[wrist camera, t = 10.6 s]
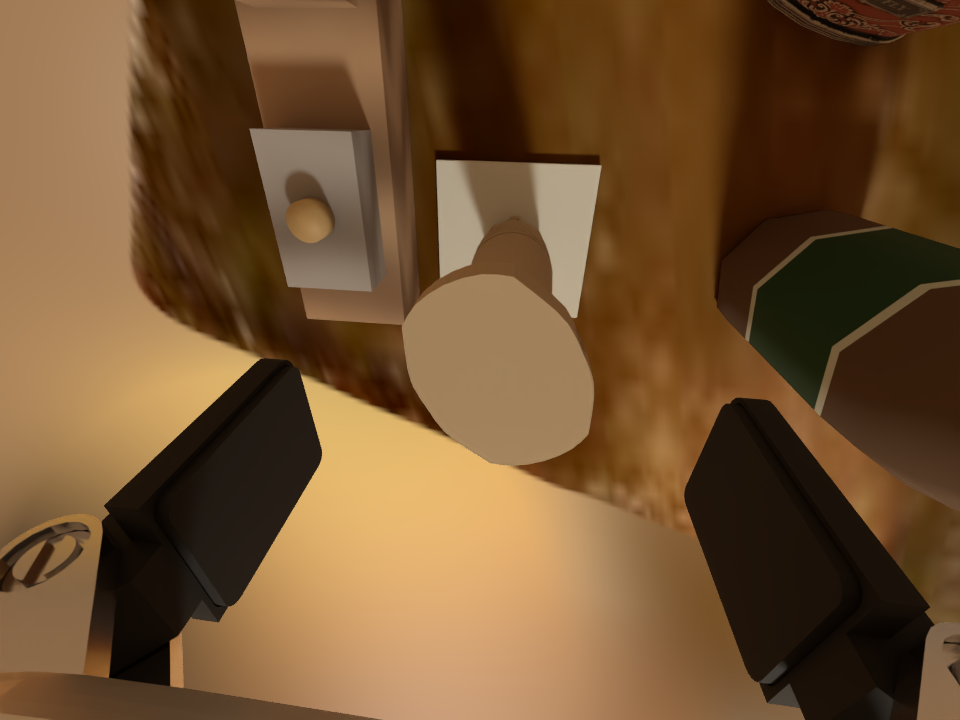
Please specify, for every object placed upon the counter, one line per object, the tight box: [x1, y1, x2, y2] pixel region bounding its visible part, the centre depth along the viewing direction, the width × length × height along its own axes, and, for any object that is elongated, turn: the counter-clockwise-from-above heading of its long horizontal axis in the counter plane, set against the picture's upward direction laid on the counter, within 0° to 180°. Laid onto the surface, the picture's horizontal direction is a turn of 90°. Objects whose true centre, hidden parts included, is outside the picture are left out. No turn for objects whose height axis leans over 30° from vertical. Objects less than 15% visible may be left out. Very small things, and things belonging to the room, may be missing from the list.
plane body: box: [235, 0, 420, 325], centre depth 19 cm, size 18×6×7 cm, turn 179°
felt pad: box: [436, 160, 601, 318], centre depth 24 cm, size 9×9×1 cm
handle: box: [402, 216, 594, 466], centre depth 18 cm, size 5×6×15 cm
